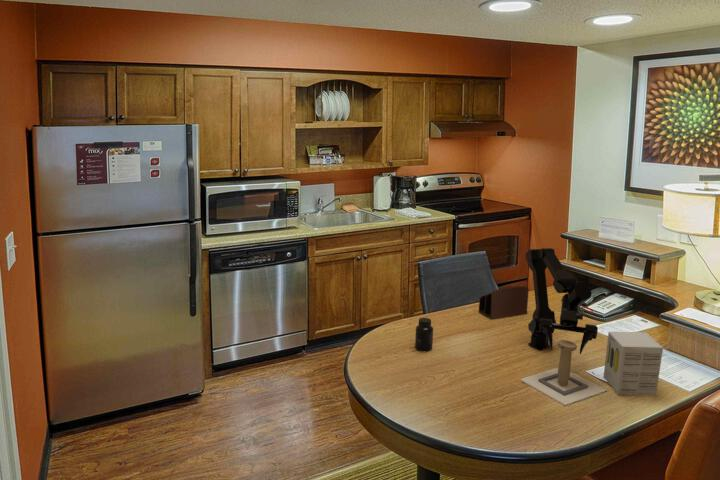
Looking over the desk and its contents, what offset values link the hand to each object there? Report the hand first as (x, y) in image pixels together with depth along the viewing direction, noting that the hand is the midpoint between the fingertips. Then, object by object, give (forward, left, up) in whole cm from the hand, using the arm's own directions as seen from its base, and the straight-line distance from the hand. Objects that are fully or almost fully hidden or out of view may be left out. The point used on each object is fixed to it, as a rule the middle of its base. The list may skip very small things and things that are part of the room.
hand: (565, 351), depth 198 cm
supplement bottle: (+24, -48, -13) cm, 55 cm away
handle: (0, 0, -12) cm, 12 cm away
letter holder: (-30, -62, -13) cm, 70 cm away
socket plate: (0, 0, -12) cm, 13 cm away
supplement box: (-20, +11, -13) cm, 26 cm away
